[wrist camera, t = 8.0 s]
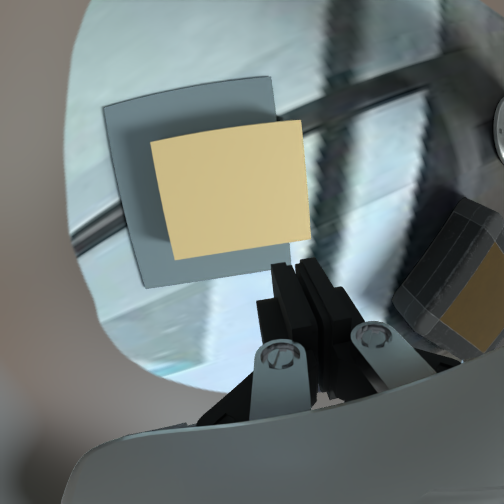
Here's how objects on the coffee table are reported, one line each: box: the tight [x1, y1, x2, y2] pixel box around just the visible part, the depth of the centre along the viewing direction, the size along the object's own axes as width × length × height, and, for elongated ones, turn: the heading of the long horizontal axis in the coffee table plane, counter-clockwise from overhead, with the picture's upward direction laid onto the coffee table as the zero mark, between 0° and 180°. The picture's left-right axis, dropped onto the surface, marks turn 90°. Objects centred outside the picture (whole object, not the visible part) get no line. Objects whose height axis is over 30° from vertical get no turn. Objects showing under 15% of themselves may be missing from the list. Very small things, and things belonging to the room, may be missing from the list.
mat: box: [104, 77, 291, 289], centre depth 33 cm, size 18×22×1 cm
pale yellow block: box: [150, 120, 311, 260], centre depth 31 cm, size 4×12×14 cm
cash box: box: [392, 198, 504, 360], centre depth 40 cm, size 25×20×8 cm
